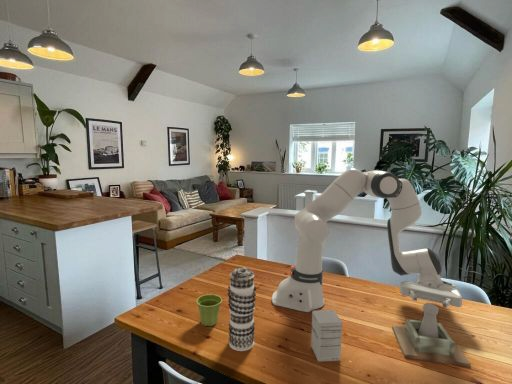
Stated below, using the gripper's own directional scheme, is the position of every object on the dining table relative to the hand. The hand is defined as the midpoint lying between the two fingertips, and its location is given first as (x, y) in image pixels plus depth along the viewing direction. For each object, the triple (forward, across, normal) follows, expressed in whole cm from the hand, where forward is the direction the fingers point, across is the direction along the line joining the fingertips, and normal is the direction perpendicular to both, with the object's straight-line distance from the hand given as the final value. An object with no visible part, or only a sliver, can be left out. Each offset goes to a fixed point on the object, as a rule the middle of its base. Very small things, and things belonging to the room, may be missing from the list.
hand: (429, 301), depth 104 cm
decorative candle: (+43, -53, +10) cm, 69 cm away
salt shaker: (+12, 0, +9) cm, 15 cm away
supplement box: (+34, -28, +10) cm, 45 cm away
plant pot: (+39, -70, +10) cm, 81 cm away
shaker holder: (+12, 0, +10) cm, 16 cm away
